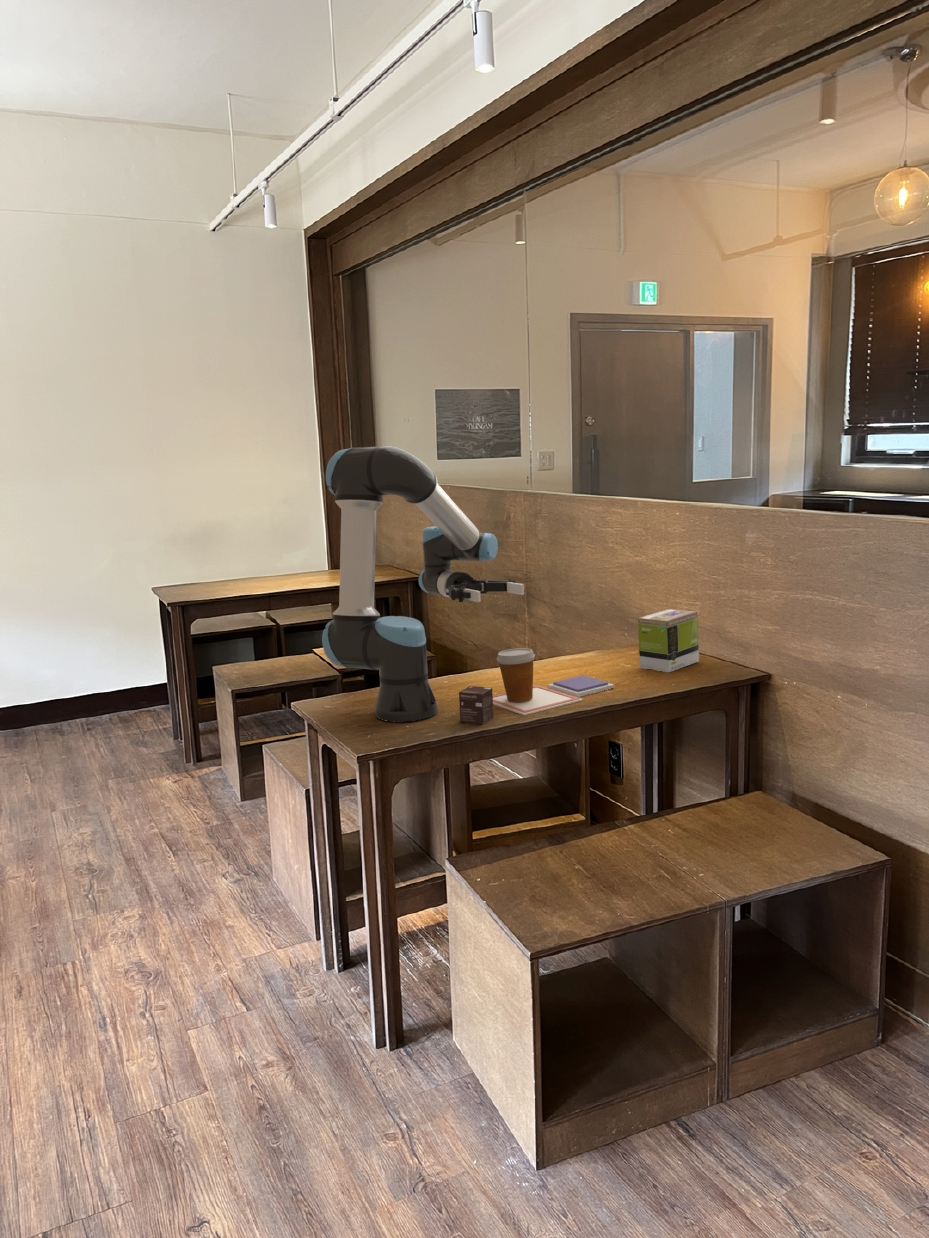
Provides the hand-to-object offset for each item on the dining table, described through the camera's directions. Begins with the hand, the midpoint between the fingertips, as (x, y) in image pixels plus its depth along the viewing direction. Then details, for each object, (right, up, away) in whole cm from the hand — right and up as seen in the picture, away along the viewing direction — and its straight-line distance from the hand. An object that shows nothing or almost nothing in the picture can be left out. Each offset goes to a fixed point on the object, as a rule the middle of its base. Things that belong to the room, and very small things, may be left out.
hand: (501, 593), depth 224 cm
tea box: (+48, -20, +23) cm, 56 cm away
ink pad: (+21, -24, +4) cm, 32 cm away
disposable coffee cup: (+4, -27, -4) cm, 27 cm away
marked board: (+7, -27, -4) cm, 28 cm away
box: (-6, -30, -17) cm, 36 cm away
